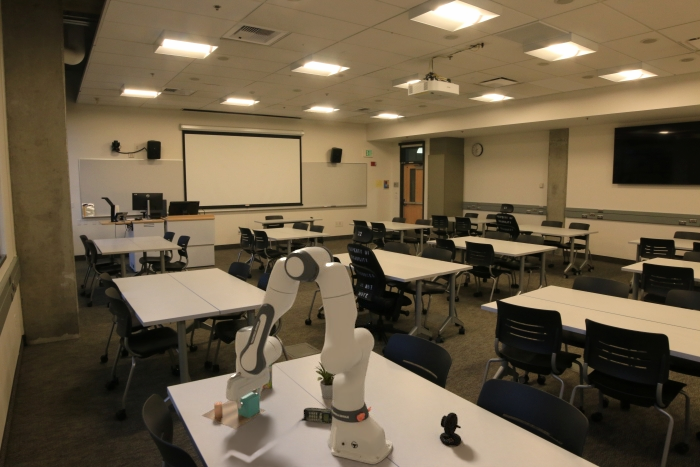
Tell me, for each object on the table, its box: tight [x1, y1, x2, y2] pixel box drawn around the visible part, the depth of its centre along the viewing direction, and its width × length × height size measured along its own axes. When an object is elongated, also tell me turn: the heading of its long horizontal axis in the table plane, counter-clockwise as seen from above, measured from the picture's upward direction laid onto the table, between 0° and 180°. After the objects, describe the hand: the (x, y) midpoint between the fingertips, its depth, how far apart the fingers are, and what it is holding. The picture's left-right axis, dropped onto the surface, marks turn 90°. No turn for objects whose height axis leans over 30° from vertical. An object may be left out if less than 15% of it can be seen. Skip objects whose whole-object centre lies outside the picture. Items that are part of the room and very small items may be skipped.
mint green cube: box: [238, 391, 261, 418], centre depth 173 cm, size 6×6×7 cm
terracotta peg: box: [213, 401, 223, 418], centre depth 171 cm, size 3×3×5 cm
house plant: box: [314, 361, 336, 400], centre depth 188 cm, size 14×14×16 cm
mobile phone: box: [303, 407, 332, 424], centre depth 170 cm, size 5×3×15 cm
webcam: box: [439, 412, 462, 447], centre depth 157 cm, size 8×8×10 cm
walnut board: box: [201, 400, 266, 430], centre depth 174 cm, size 18×16×2 cm
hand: (249, 402), depth 173 cm, fingers open, 8 cm apart
